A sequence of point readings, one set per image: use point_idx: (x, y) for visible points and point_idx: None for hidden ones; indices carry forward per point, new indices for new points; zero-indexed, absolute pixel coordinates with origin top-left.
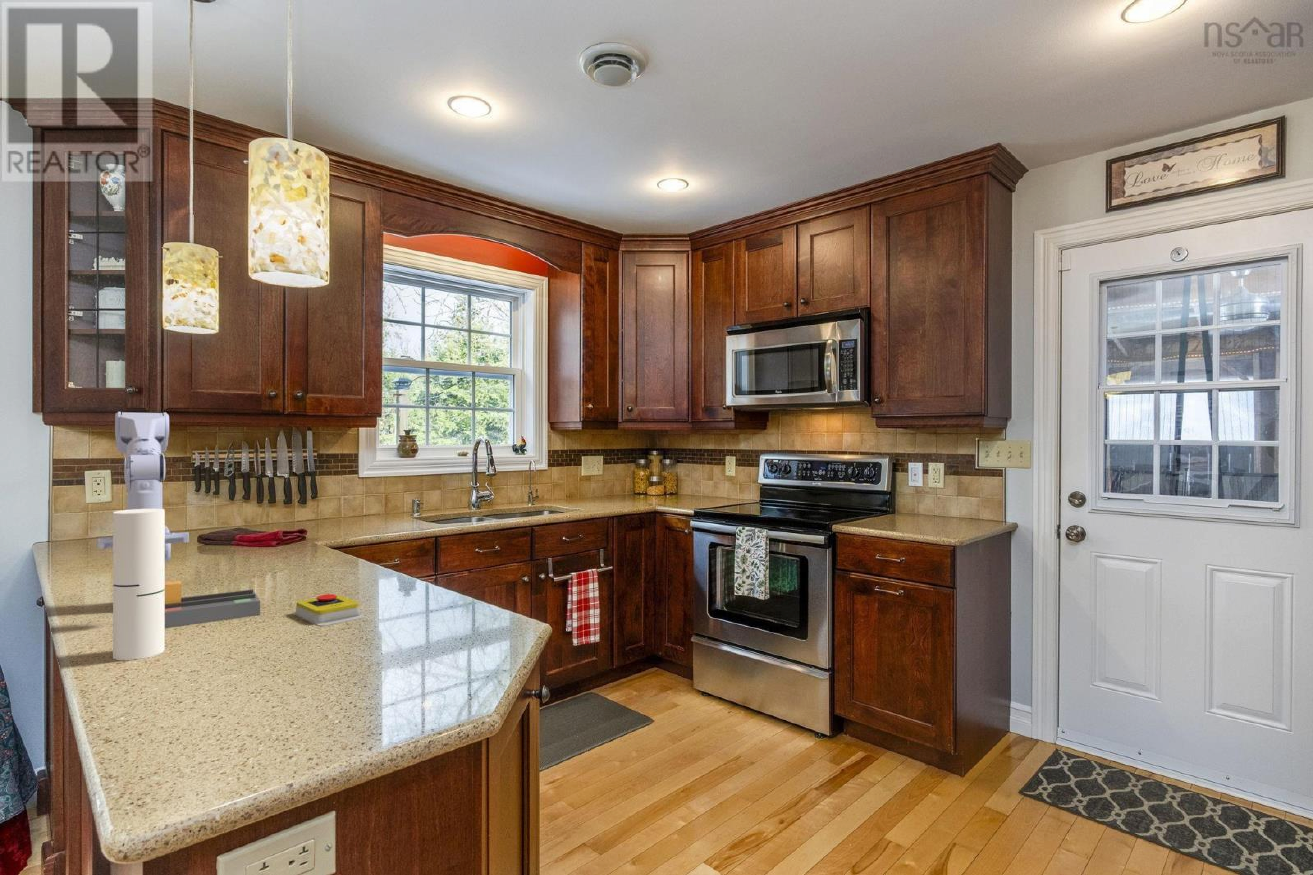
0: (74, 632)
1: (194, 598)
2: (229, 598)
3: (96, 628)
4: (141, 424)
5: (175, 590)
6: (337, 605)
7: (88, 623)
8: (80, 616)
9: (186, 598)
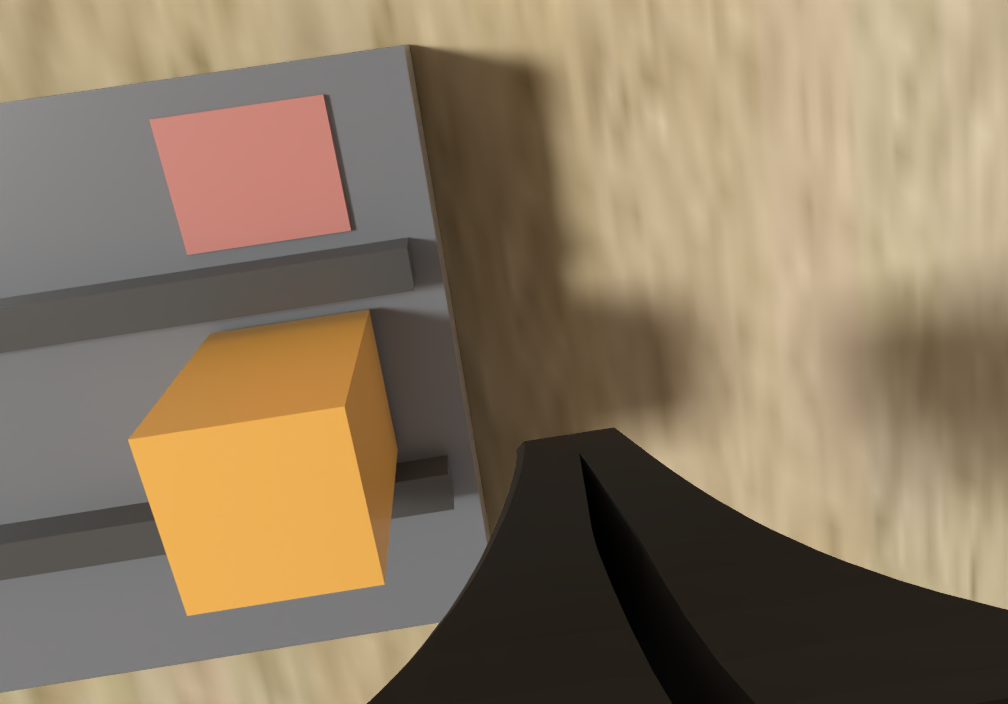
0: (969, 255)
1: (132, 516)
2: None
3: (836, 312)
4: None
5: (219, 389)
6: None
7: (890, 491)
8: None
9: None
